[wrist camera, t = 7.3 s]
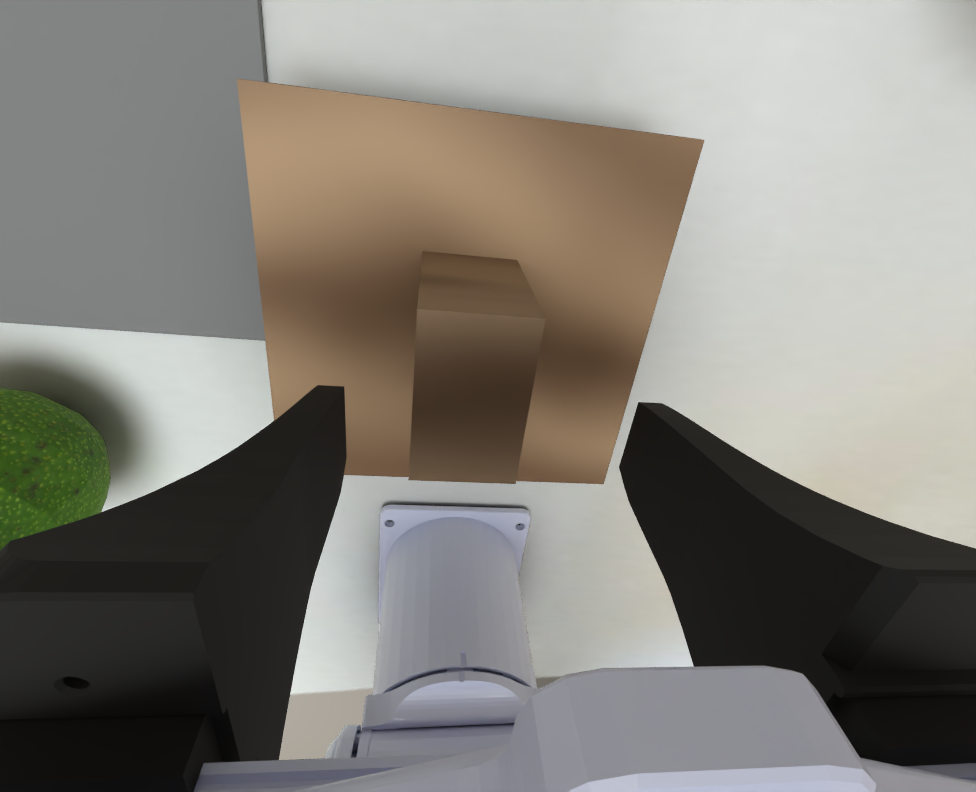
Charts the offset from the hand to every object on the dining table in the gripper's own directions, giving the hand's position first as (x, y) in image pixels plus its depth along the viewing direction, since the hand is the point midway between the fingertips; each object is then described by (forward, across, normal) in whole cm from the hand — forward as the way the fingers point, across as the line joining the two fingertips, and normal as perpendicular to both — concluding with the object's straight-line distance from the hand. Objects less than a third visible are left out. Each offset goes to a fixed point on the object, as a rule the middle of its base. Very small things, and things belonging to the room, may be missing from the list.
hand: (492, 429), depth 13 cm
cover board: (+6, 0, 0) cm, 6 cm away
